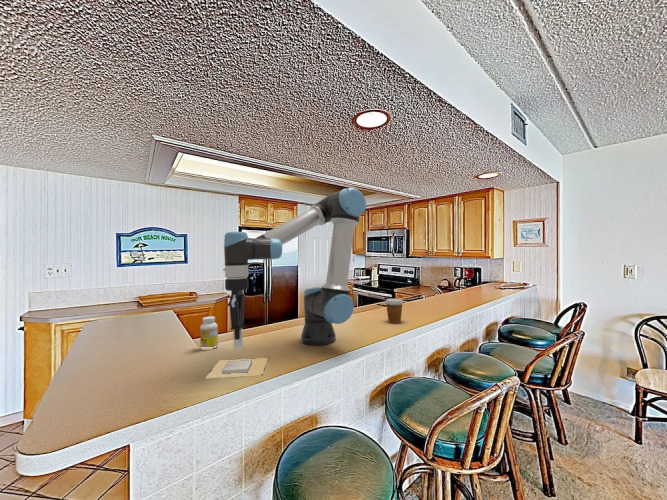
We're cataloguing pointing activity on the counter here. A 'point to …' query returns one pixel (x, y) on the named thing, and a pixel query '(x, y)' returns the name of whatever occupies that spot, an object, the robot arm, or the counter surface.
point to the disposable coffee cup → (394, 310)
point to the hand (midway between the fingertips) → (238, 347)
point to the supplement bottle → (209, 332)
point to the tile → (237, 367)
